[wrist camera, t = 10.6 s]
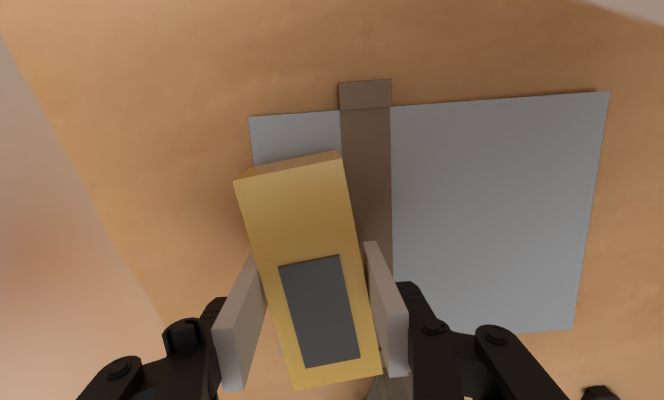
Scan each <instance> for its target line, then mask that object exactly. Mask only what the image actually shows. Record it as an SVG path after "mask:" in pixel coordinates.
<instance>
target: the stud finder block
mask: <svg viewBox="0 0 664 400" xmlns="http://www.w3.org/2000/svg"><path fill="white" fill-rule="evenodd" d="M232 183H233V187H234V190H235V193H236V197H237V200H238V204H239V207H240V210H241V214H242V217H243V221H244V224H245V227H246V231H247V234H248V238H249V241H250V244H251V248H252V251H253V255H254V258H255V261H256V265H257V268H258V272H259V275H260V278H261V282H262V285H263V289H264V292H265V295H266V299H267V302H268V306H269V309H270V312H271V316H272V319H273V323H274V326H275V329H276V333H277V336H278V340H279V343H280V346H281V350H282V353H283V357H284V360H285V363H286V367H287V370H288V374H289V377H290V380H291V384H292V387H293V391H298V390H303V389H309V388H314V387H319V386H324V385H329V384H334V383H340V382H345V381H350V380H355V379H360V378H365V377H371V376H376V375H381V374H383V370H382V364H381V359H380V354H379V349H378V344H377V338H376V333H375V328H374V323H373V318H372V312H371V308H370V302H369V297H368V292H367V286H366V281H365V276H364V271H363V265H362V260H361V255H360V250H359V245H358V239H357V234H356V229H355V224H354V219H353V213H352V208H351V203H350V198H349V193H348V187H347V182H346V177H345V172H344V167H343V161H342V157H341V156H340V154H339V152H338V150H337V149H336V150H331V151H326V152H321V153H317V154H312V155H307V156H302V157H297V158H292V159H288V160H283V161H278V162H273V163H268V164H263V165H258V166H254V167H251V168H249V169H248V170H246V171H245V172H244V173H242V174H241V175H239V176H238V177H236V178H235V179H234V180H232Z"/></svg>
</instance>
